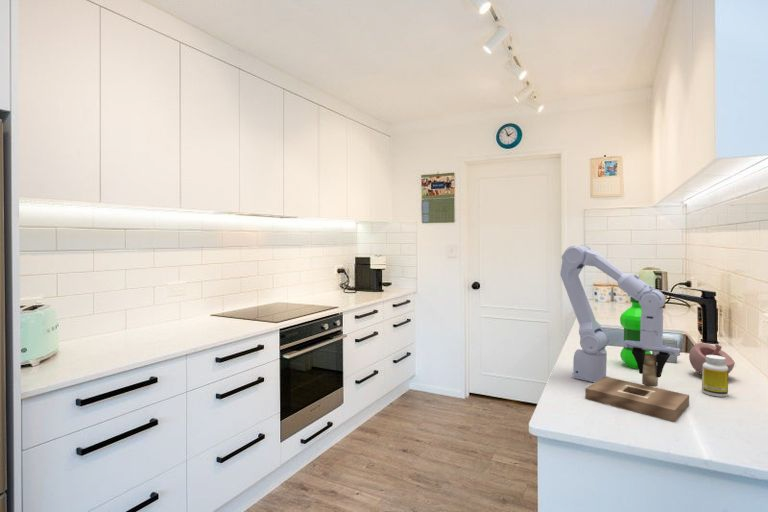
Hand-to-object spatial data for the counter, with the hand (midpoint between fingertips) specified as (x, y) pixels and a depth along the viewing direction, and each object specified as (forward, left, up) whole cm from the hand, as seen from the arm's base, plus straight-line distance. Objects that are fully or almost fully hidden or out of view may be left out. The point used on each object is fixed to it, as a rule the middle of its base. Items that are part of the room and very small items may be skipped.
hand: (650, 374), depth 132 cm
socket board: (0, -13, -5) cm, 14 cm away
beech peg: (0, 0, -3) cm, 3 cm away
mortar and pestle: (+10, +29, -5) cm, 31 cm away
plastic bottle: (-11, +24, -5) cm, 27 cm away
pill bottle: (+14, +11, -5) cm, 19 cm away
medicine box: (-6, +40, -5) cm, 41 cm away
